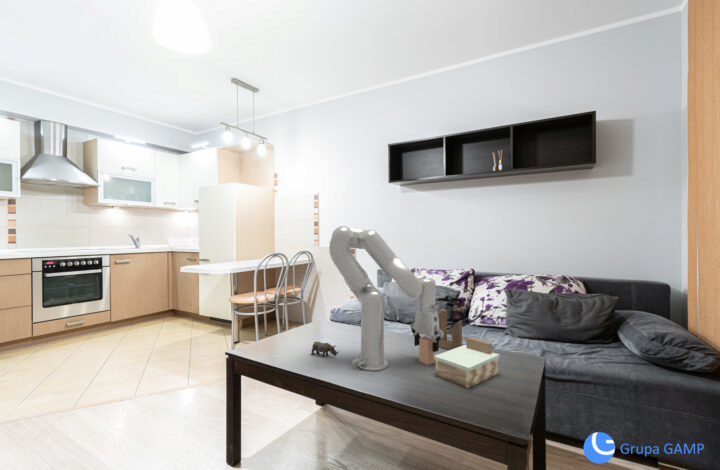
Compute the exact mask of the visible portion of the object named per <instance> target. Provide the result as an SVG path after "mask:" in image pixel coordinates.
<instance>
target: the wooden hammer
mask: <svg viewBox="0 0 720 470" xmlns="http://www.w3.org/2000/svg"><path fill="white" fill-rule="evenodd" d="M438 312H439V313H438V315H439V316H438V319H439V329H440V330H442V331H443V332H444V335H443V337H442V339H441V340H440V341H439V348H440V349H444V350H447V351H449V350H452V349H455V348H458V347H461V346H463V320H462V319H461V320H459V321H457V322H456V323H455V324H454V325H453V326H452V327H450V329H448V311H447V309H445V308H441V309H439V311H438ZM448 335H449V336H451V339H448Z"/></svg>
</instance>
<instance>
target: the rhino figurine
mask: <svg viewBox="0 0 720 470" xmlns="http://www.w3.org/2000/svg"><path fill="white" fill-rule="evenodd" d="M336 346H337V344H335V345H332V344H330V343H328V342H321V341H314V342H313V344H312V346H311V348H312V349H311V353H310V354H311V355H312V356H314V355H315V354H317V355H320V354H321V353H322V355H321V357H322V358H325V357H328V356H330V354H331V355H332V356H335V357H336V356H337V354H338V355H339V352H340V351H337V349H335V348H336ZM315 351H316V353H315Z"/></svg>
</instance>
